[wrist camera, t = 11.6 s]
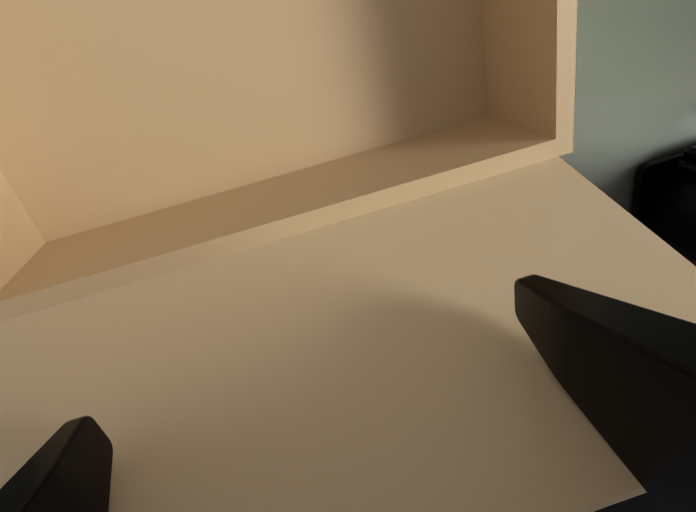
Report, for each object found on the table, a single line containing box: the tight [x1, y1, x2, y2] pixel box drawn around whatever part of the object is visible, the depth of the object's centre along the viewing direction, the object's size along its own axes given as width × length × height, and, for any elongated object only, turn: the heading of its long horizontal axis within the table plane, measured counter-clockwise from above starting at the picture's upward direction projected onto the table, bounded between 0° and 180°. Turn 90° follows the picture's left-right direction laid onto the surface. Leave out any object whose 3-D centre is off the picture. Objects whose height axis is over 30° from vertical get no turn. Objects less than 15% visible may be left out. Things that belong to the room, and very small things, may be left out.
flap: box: [0, 156, 696, 512], centre depth 10 cm, size 9×18×1 cm
